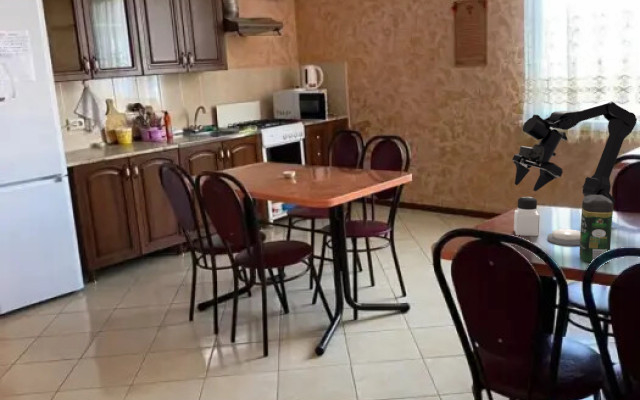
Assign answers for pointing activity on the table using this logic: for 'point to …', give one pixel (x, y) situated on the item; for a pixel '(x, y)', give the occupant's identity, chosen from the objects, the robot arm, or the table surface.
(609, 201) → the coffee jar
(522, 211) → the medicine bottle
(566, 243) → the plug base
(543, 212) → the table surface
